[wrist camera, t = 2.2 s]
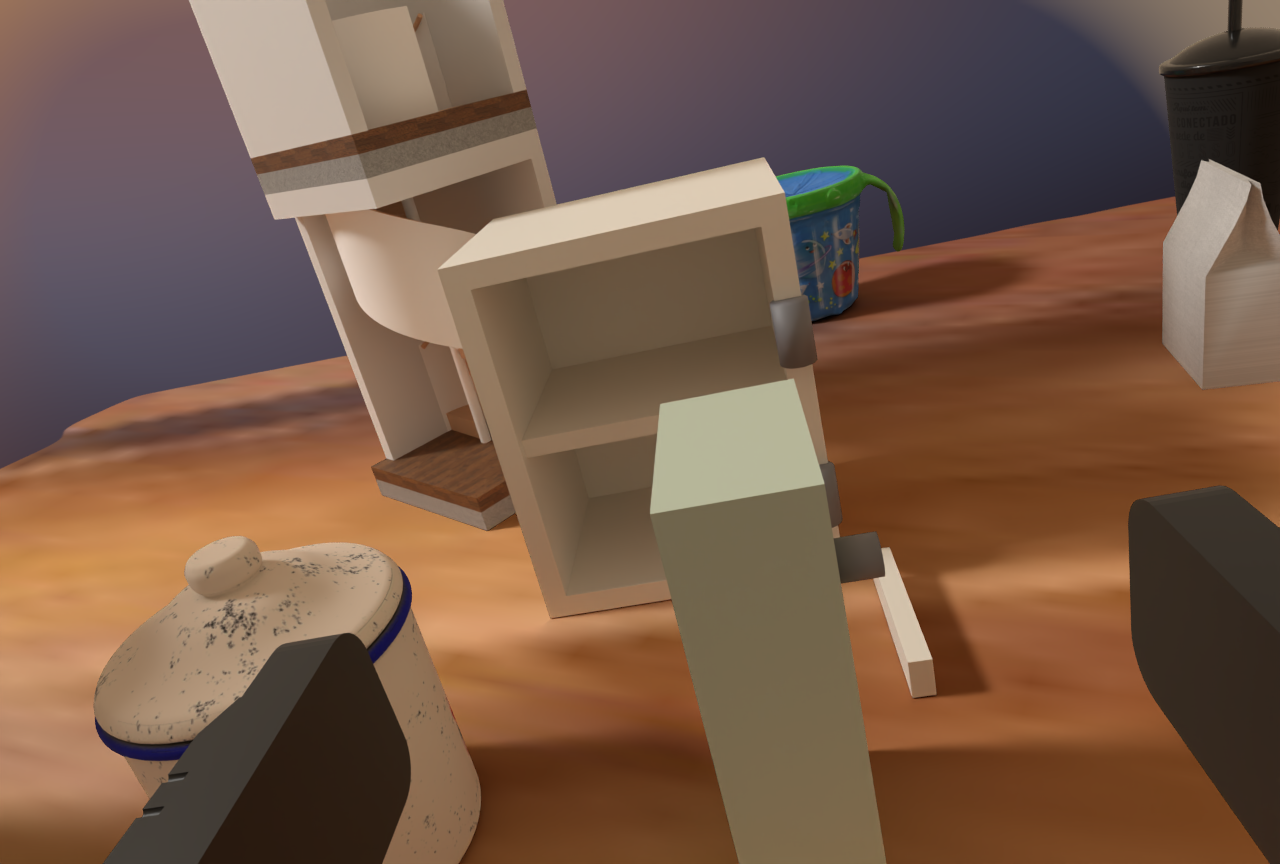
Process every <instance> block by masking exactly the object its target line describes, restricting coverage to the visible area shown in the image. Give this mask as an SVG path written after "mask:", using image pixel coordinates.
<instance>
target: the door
mask: <svg viewBox="0 0 1280 864" xmlns="http://www.w3.org/2000/svg"><path fill="white" fill-rule="evenodd" d="M650 517H651V521H652V525H653V529H654V533H655V536H656V540H657V544H658V548H659V552H660V556H661V560H662V564H663V568H664V572H665V576H666V580H667V583H668V587H669V591H670V595H671V599H672V603H673V607H674V611H675V615H676V619H677V623H678V626H679V630H680V634H681V638H682V642H683V646H684V650H685V654H686V658H687V662H688V666H689V670H690V673H691V677H692V681H693V685H694V689H695V693H696V697H697V701H698V705H699V709H700V713H701V716H702V720H703V724H704V728H705V732H706V736H707V740H708V744H709V748H710V752H711V756H712V760H713V763H714V767H715V771H716V775H717V779H718V783H719V787H720V791H721V795H722V799H723V803H724V806H725V810H726V814H727V818H728V822H729V826H730V830H731V834H732V838H733V842H734V846H735V850H736V853H737V857H738V861H739V864H887V863H886V857H885V851H884V845H883V839H882V833H881V827H880V820H879V814H878V808H877V802H876V796H875V790H874V784H873V777H872V771H871V765H870V759H869V753H868V747H867V741H866V735H865V728H864V722H863V716H862V710H861V704H860V698H859V692H858V686H857V679H856V673H855V667H854V661H853V655H852V649H851V643H850V636H849V630H848V624H847V618H846V612H845V606H844V600H843V594H842V587H841V583H847V582H854V581H860V580H866V579H873V578H879V577H885V566H884V560H883V555H882V550H881V546H880V542H879V538H878V535H877V533H876V531H875V532H869V533H863V534H857V535H851V536H845V537H839V538H833V532H832V526H831V520H830V514H829V508H828V502H827V496H826V489H825V484H824V480H823V477H822V473H821V470H820V467H819V463H818V460H817V456H816V453H815V449H814V446H813V443H812V439H811V436H810V432H809V429H808V426H807V422H806V419H805V415H804V412H803V408H802V405H801V402H800V398H799V395H798V391H797V388H796V385H795V381H794V379H789V380H783V381H778V382H773V383H768V384H762V385H757V386H752V387H747V388H741V389H736V390H731V391H726V392H721V393H715V394H710V395H705V396H700V397H694V398H689V399H684V400H679V401H673V402H668V403H663V404H660V410H659V421H658V432H657V443H656V453H655V464H654V475H653V485H652V496H651V507H650Z"/></svg>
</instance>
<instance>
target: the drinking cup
mask: <svg viewBox="0 0 1280 864" xmlns="http://www.w3.org/2000/svg"><path fill="white" fill-rule="evenodd" d="M1241 26H1242V0H1229V4H1228V31H1226V32H1222V33H1219V34H1216V35H1214V36H1211V37H1208V38H1205V39H1203V40H1201V41H1198V42H1196V43H1194V44H1193V45H1191V46H1189V47H1187V48H1186V49H1184V50H1183V51H1181V52H1180V53H1178V54H1177V55H1176V56H1175V57H1173V58H1172V59H1170V60H1167V61H1166V62H1163V63H1162V64H1161V65H1160V66H1159V73H1160V75H1162V76H1164V78H1165V89H1166V100H1167V110H1168V121H1169V131H1170V143H1171V154H1172V164H1173V175H1174V186H1175V197H1176V208H1177V216H1178V214H1179V212H1180V210H1181V208H1182V206H1183V204H1184V203H1185V201H1186V199H1187V197H1188V195H1189V192H1190V190H1191V188H1192V186H1193V183H1194V181H1195V179H1196V177H1197V174H1198V170H1199V167H1200V163H1201V160H1202V161H1206V162H1209V159H1210V160H1212V161H1214V162H1216V163H1219V164H1221V165H1223V166H1225V167H1227V168H1229V169H1231V170H1233V171H1235V172H1238V173H1240V174H1242V175H1244V176H1246V177H1248V178H1250V179H1252V180H1255V181H1257V182H1259V183H1260V184H1261V189H1262V194H1263V199H1264V202H1265V204H1266V207H1267V209H1268V212H1269V215H1270V217H1271V220H1272V222H1273V223H1274V225H1275V227H1276V229H1277V231H1278V225H1279V219H1280V29H1274V28H1241Z"/></svg>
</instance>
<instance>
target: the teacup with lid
mask: <svg viewBox="0 0 1280 864" xmlns="http://www.w3.org/2000/svg"><path fill="white" fill-rule="evenodd" d="M184 573H185V578H186V580H187V582H188V584H189V585H188V586H187V587H186V588H185V589H183V590H182V591H181V592H180V593H179V594H178V595H177V596H176V597H175V598H174V599H173V600H172V601H171V602H170V603H169V604H168V605H167V606H165V607H164V608H163V609H161V610H160V611H159V612H157V613H156V614H155V615H153V616H152V617H151V618H149V619H148V620H147V621H146V622H145V623H143V624H142V625H141V626H140V627H139V628H138V629H137V630H135V631H134V632H133V633H132V634H131V635H130V636H129V637H128V638H127V639H126V640H125V641H124V642H123V644H122V645H121V646H120V647H119V648H118V649H117V651H116V652H115V653H114V654H113V656H112V657H111V659H110V660H109V661H108V663H107V665H106V666H105V668H104V670H103V672H102V674H101V676H100V678H99V681H98V683H97V687H96V691H95V697H94V714H95V725H96V729H97V732H98V734H99V737H100V738H101V740H102V741H103V742H104V744H105V745H106V746H107V747H109V748H110V749H111V750H112V751H114V752H116V753H118V754H120V755H122V756H124V757H125V759H126V760H127V762H128V764H129V765H130V767H131V769H132V770H133V772H134V774H135V775H136V777H137V779H138V780H139V782H140V784H141V785H142V787H143V789H144V790H145V792H146V794H147V795H148V797H149V799H150V798H151V797H152V796H153V794H154V793H155V792H156V790H157V789H158V787H159V786H160V785H161V783H166V782H168V774H169V772H170V771H171V770H172V768H173V767H174V766H175V764H176V763H177V761H178V760H179V759H180V757H181V756H182V755H183V753H184V752H185V751H186V749H187V748H188V746H189V745H190V744H191V742H192V741H193V740H194V738H195V737H196V735H197V734H198V733H199V732H201V731H202V730H203V729H204V728H205V727H206V726H207V725H209V724H210V723H211V722H212V721H213V720H214V719H215V718H217V717H218V716H219V715H220V714H221V713H222V712H223V711H225V710H226V709H227V708H228V707H229V706H230V705H231V704H233V703H234V702H235V701H236V700H237V699H238V698H239V697H242V696H243V694H244V693H245V691H246V690H247V689H248V687H249V686H250V684H251V683H252V681H253V680H254V679H255V677H256V676H257V674H258V673H259V672H260V670H261V669H262V667H263V666H264V664H265V663H266V662H267V660H268V659H269V657H270V656H271V654H272V653H273V652H274V651H275V650H276V648H278V647H279V646H280V645H282V644H285V643H290V642H295V641H301V640H307V639H313V638H319V637H325V636H331V635H336V634H342V633H352V634H354V635H356V636H357V637H358V638H359V639H360V640H361V641H362V642H363V644H364V645H365V647H366V649H367V651H368V653H369V655H370V658H371V660H372V662H373V665H374V667H375V669H376V672H377V674H378V676H379V678H380V681H381V683H382V685H383V688H384V690H385V692H386V694H387V697H388V699H389V701H390V704H391V706H392V708H393V711H394V713H395V715H396V717H397V720H398V722H399V724H400V727H401V729H402V731H403V734H404V736H405V738H406V741H407V745H408V748H409V754H410V761H411V782H410V789H409V794H408V798H407V801H406V804H405V806H404V809H403V812H402V814H401V817H400V819H399V822H398V824H397V827H396V830H395V832H394V835H393V837H392V840H391V843H390V845H389V848H388V850H387V853H386V855H385V858H384V861H383V863H382V864H459V862H460V861H461V859H462V857H463V856H464V854H465V852H466V850H467V848H468V846H469V844H470V842H471V840H472V838H473V835H474V833H475V830H476V827H477V823H478V820H479V814H480V808H481V788H480V783H479V778H478V775H477V773H476V770H475V767H474V765H473V762H472V760H471V757H470V755H469V752H468V750H467V747H466V745H465V742H464V740H463V737H462V735H461V732H460V730H459V727H458V725H457V722H456V720H455V717H454V715H453V712H452V710H451V707H450V704H449V702H448V699H447V697H446V694H445V692H444V689H443V687H442V684H441V682H440V679H439V677H438V674H437V672H436V669H435V667H434V664H433V662H432V659H431V657H430V654H429V652H428V649H427V647H426V644H425V642H424V639H423V637H422V634H421V632H420V629H419V627H418V624H417V622H416V619H415V617H414V614H413V611H412V609H411V602H412V590H411V585H410V582H409V580H408V577H407V576H406V574H405V573H404V571H403V570H402V569H401V568H400V567H399V566H397V564H396V563H395V562H394V561H393V560H392V559H391V558H390V557H388V556H387V555H385V554H384V553H382V552H380V551H379V550H376V549H374V548H371V547H368V546H365V545H360V544H354V543H322V544H314V545H308V546H302V547H298V548H293V549H289V550H276V551H266V552H260V551H259V549H258V547H257V545H256V544H255V542H253V541H252V540H250V539H248V538H246V537H243V536H233V537H227V538H223V539H220V540H217V541H215V542H212V543H210V544H208V545H206V546H204V547H203V548H201V549H200V550H198V551H197V552H196V553H194V554H193V555H192V556H191V557H190V558H189V560H188V561H187V563H186V566H185V571H184Z"/></svg>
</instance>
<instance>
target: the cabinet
mask: <svg viewBox="0 0 1280 864" xmlns="http://www.w3.org/2000/svg"><path fill="white" fill-rule="evenodd" d="M437 271H438V274H439V277H440V280H441V283H442V286H443V290H444V293H445V296H446V299H447V302H448V305H449V308H450V311H451V314H452V317H453V320H454V323H455V326H456V330H457V333H458V336H459V339H460V342H461V345H462V348H463V351H464V354H465V357H466V360H467V363H468V366H469V370H470V373H471V376H472V379H473V382H474V385H475V388H476V391H477V394H478V397H479V400H480V403H481V407H482V410H483V413H484V416H485V419H486V422H487V425H488V428H489V431H490V434H491V437H492V440H493V443H494V447H495V450H496V453H497V456H498V459H499V462H500V465H501V468H502V471H503V474H504V477H505V480H506V484H507V487H508V490H509V493H510V496H511V499H512V502H513V505H514V508H515V511H516V514H517V517H518V520H519V524H520V527H521V530H522V533H523V536H524V539H525V542H526V545H527V548H528V551H529V554H530V557H531V560H532V564H533V567H534V570H535V573H536V576H537V579H538V582H539V585H540V588H541V591H542V594H543V597H544V601H545V604H546V607H547V610H548V613H549V616H550V618H556V617H562V616H569V615H575V614H581V613H587V612H594V611H600V610H606V609H613V608H619V607H625V606H631V605H638V604H644V603H650V602H657V601H663V600H669V599H671V595H670V591H669V587H668V583H667V580H666V576H665V572H664V568H663V564H662V560H661V556H660V552H659V548H658V544H657V540H656V536H655V533H654V529H653V525H652V521H651V517H650V507H651V496H652V485H653V475H654V464H655V453H656V443H657V432H658V421H659V410H660V404H663V403H668V402H673V401H679V400H684V399H689V398H694V397H700V396H705V395H710V394H715V393H721V392H726V391H731V390H736V389H741V388H747V387H752V386H757V385H762V384H768V383H773V382H778V381H783V380H789V379H794V381H795V385H796V388H797V391H798V395H799V398H800V402H801V405H802V408H803V412H804V415H805V419H806V422H807V426H808V429H809V432H810V436H811V439H812V443H813V446H814V449H815V453H816V456H817V460H818V463H819V467H820V470H821V473H822V477H823V480H824V484H825V489H826V496H827V502H828V508H829V514H830V520H831V526H832V532H833V538H839V537H840V534H839V528H838V525H839V524H840V523H841V522H842V519H843V518H842V512H841V505H840V499H839V493H838V486H837V480H836V474H835V467H834V464H833V463H831V462H829V461H828V459H827V453H826V447H825V441H824V434H823V428H822V422H821V416H820V410H819V403H818V397H817V391H816V385H815V378H814V372H813V366H812V364H813V363H814V362H816V361H817V353H816V347H815V340H814V334H813V327H812V321H811V315H810V308H809V302H808V297H807V296H806V295H803V294H801V291H800V285H799V278H798V272H797V266H796V260H795V253H794V247H793V241H792V235H791V229H790V222H789V216H788V210H787V204H786V197H785V192H784V190H783V189H782V187H781V185H780V184H779V182H778V180H777V178H776V177H775V176H774V173H773V172H772V170H771V168H770V167H769V165H768V163H767V162H766V160H765V158H759V159H755V160H751V161H746V162H742V163H737V164H733V165H728V166H724V167H720V168H716V169H711V170H707V171H702V172H698V173H693V174H689V175H685V176H681V177H676V178H672V179H667V180H663V181H659V182H654V183H650V184H645V185H641V186H637V187H632V188H628V189H624V190H619V191H615V192H611V193H607V194H602V195H597V196H593V197H588V198H584V199H580V200H575V201H571V202H567V203H562V204H558V205H553V206H549V207H545V208H540V209H536V210H531V211H527V212H523V213H518V214H514V215H510V216H505V217H501V218H496V219H493V220H492V221H491V222H489V223H488V224H487V225H486V226H485V227H484V228H483V229H482V230H481V231H479V232H478V233H477V234H476V235H475V236H474V237H473V238H472V239H471V240H469V241H468V242H467V243H466V244H465V245H464V246H463V247H462V248H461V249H459V250H458V251H457V252H456V253H455V254H454V255H453V256H452V257H451V258H449V259H448V260H447V261H446V262H445V263H444V264H443V265H442V266H441V267H439V268H438V269H437ZM881 550H882V555H883V560H884V566H885V577H879V578H873V579H874V583H875V586H876V589H877V592H878V595H879V598H880V601H881V604H882V607H883V610H884V613H885V616H886V619H887V622H888V625H889V628H890V631H891V634H892V638H893V641H894V644H895V647H896V650H897V653H898V656H899V659H900V662H901V665H902V668H903V671H904V674H905V677H906V680H907V683H908V686H909V689H910V692H911V695H912V698H916V697H923V696H930V695H937V693H936V684H935V676H934V668H933V659H932V657H931V654H930V651H929V649H928V646H927V644H926V641H925V638H924V636H923V633H922V631H921V628H920V625H919V623H918V620H917V618H916V615H915V612H914V610H913V607H912V605H911V602H910V599H909V597H908V594H907V592H906V589H905V586H904V584H903V581H902V579H901V576H900V573H899V571H898V568H897V566H896V563H895V560H894V558H893V555H892V552H891V550H890V547H887V548H881Z"/></svg>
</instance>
